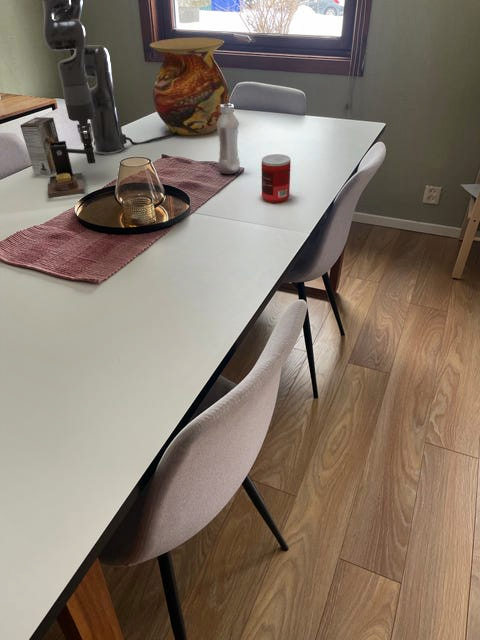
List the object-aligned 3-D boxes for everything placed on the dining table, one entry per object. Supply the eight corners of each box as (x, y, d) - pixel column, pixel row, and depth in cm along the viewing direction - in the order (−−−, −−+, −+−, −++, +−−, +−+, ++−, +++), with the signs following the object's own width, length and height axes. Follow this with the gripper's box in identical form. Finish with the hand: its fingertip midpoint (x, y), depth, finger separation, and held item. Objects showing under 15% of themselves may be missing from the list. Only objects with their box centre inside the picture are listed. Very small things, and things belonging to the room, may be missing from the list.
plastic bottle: (218, 169, 159) (214, 103, 147) (239, 168, 159) (237, 102, 147) (219, 177, 154) (215, 108, 142) (241, 175, 154) (239, 107, 142)
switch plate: (84, 186, 151) (81, 173, 148) (85, 196, 144) (82, 182, 142) (49, 190, 148) (46, 177, 146) (49, 200, 142) (45, 187, 140)
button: (71, 178, 146) (70, 172, 145) (71, 183, 143) (70, 177, 142) (57, 180, 145) (55, 174, 144) (57, 184, 142) (55, 178, 141)
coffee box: (48, 167, 165) (35, 116, 156) (66, 168, 164) (54, 117, 155) (34, 177, 158) (19, 124, 149) (52, 178, 157) (38, 125, 148)
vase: (189, 115, 214) (183, 35, 196) (244, 124, 200) (242, 39, 182) (142, 132, 195) (129, 45, 177) (198, 144, 181) (191, 51, 163)
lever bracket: (82, 176, 158) (74, 138, 151) (83, 185, 151) (74, 145, 144) (51, 180, 156) (41, 141, 149) (50, 189, 149) (40, 149, 142)
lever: (91, 153, 153) (91, 145, 152) (92, 158, 149) (92, 150, 148) (54, 151, 150) (54, 143, 148) (54, 156, 146) (53, 148, 144)
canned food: (292, 193, 141) (293, 155, 135) (285, 205, 135) (286, 164, 129) (266, 191, 143) (266, 152, 137) (258, 202, 137) (257, 162, 131)
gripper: (93, 105, 137) (105, 166, 147) (90, 94, 148) (101, 151, 158) (65, 108, 135) (79, 169, 145) (64, 96, 146) (77, 154, 157)
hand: (91, 159), depth 152 cm, fingers closed on lever, 5 cm apart
